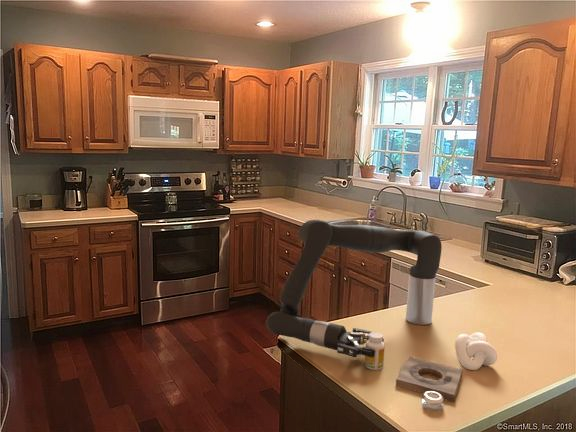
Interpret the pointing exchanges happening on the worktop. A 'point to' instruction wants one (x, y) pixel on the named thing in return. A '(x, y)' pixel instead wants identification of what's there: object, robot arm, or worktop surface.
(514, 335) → the worktop surface
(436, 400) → the metal grooved wheel
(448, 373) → the socket board
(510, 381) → the worktop surface
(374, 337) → the supplement bottle
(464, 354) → the white knot
